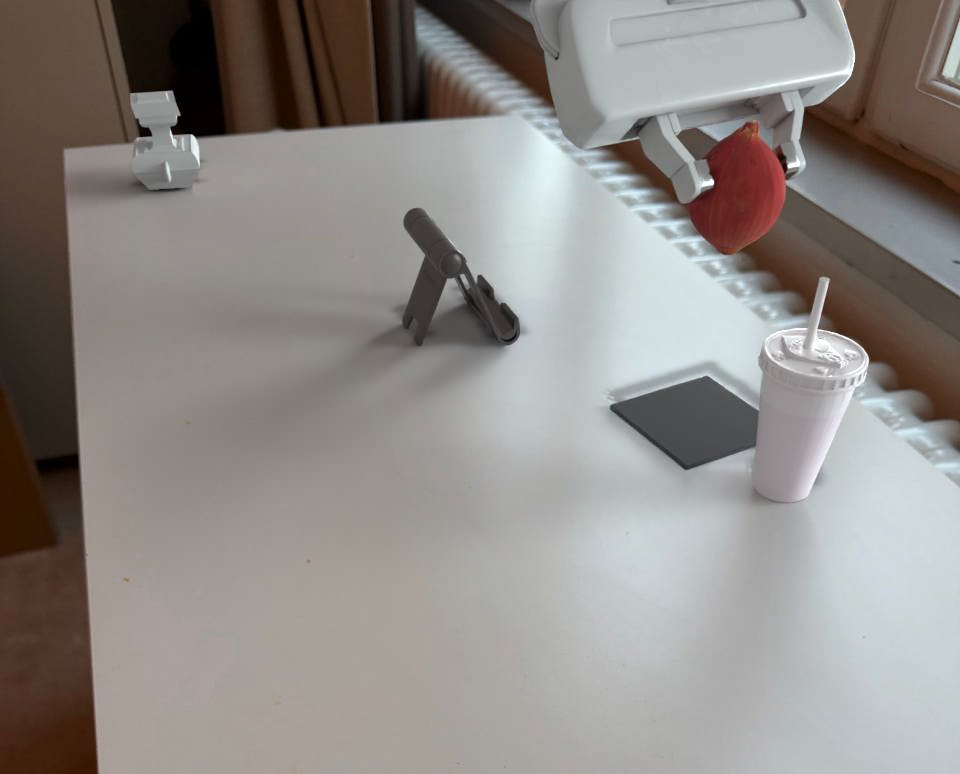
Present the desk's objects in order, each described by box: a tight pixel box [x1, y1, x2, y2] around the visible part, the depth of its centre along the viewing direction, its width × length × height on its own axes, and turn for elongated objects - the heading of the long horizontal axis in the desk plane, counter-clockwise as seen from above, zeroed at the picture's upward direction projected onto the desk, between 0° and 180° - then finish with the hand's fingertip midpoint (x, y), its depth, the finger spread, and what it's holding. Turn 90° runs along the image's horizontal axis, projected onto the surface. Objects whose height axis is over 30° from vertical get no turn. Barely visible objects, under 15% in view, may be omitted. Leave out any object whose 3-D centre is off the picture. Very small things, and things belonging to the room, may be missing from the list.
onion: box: [686, 118, 787, 256], centre depth 63 cm, size 6×6×8 cm
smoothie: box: [752, 276, 870, 504], centre depth 63 cm, size 6×6×14 cm
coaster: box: [609, 374, 759, 471], centre depth 74 cm, size 9×9×1 cm
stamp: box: [129, 90, 201, 191], centre depth 104 cm, size 9×7×8 cm
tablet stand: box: [401, 207, 521, 347], centre depth 81 cm, size 9×8×8 cm
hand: (745, 186), depth 62 cm, fingers closed on onion, 6 cm apart
